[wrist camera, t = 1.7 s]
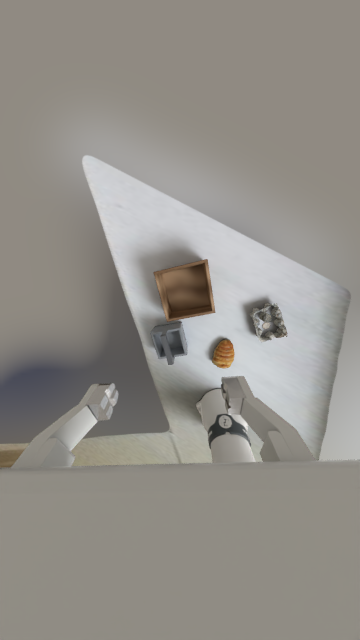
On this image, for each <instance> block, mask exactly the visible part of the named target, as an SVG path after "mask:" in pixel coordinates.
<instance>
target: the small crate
mask: <svg viewBox="0 0 360 640" xmlns="http://www.w3.org/2000/svg"><path fill="white" fill-rule="evenodd" d="M151 337H152V340H153V343H154V346H155V349H156V352H157V355H158V358H159V359H163V358H167V361H168V365H172V364H174V359H175V357H177V356H183V355H187V342H186V338H185V334H184V330H183V325H182V322H178V323H173V324H167V325H162V326H156V327H154V329H153V330H152V332H151Z"/></svg>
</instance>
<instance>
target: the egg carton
mask: <svg viewBox="0 0 360 640" xmlns="http://www.w3.org/2000/svg"><path fill="white" fill-rule="evenodd" d="M270 305H271V306H274V308H273V309H272V310H271V314H272V315H273V316H275V317H276V319H275V320H274V324H275V325H276V326H278V327H279V328H278V329H277V330H276V333H272V332H267V333H266V334H265V336H264V337H261V336H260V335H261V334H262V330H261V329H260V328H258V325H259V322H260V321H259V320H258V319H256V316H255V314H256V313H258V312H260V311H261V312H262V313H261V314H260V315H259V318H260V319H261V320H263V321H264V322H265V323H264V324H263V325H262V327H263V329H268V328H269V327H270V323H268V322H271V321H272V318H271V315H269V314H267V313H265V312H267V310H268V309H269V307H271V306H270ZM250 316H251V317H252V318H253V321H254V323H253V326H254V327H255V328H256V335H257V336H258V338H259V340H260V341H261V342H265V341H267V340H272V339H271V338H275V337H276V338H281V337H284V336H286V337H287V331H286V327H285V326H284V321H283V318H282V313H281V311H280V309H279V307H278V306H277V303H276V304H269V303H266V304H264V308H263V309H261V310H259V309H258V308H253V311H252V313H250Z"/></svg>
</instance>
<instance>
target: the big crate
mask: <svg viewBox="0 0 360 640" xmlns="http://www.w3.org/2000/svg"><path fill="white" fill-rule="evenodd" d="M154 276H155V279H156V283H157V287H158V290H159V294H160V298H161V302H162V305H163V309H164V313H165V316H166V320H167V322H168V321H173V320H179V319H184V318H189V317H195V316H200V315H205V314H211V313H215V307H214V301H213V294H212V287H211V280H210V274H209V267H208V260H207V259H205V260H201V261H197V262H193V263H189V264H185V265H181V266H177V267H173V268H169V269H165V270H161V271H157V272H154Z"/></svg>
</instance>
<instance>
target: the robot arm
mask: <svg viewBox="0 0 360 640" xmlns="http://www.w3.org/2000/svg"><path fill="white" fill-rule="evenodd" d="M221 381H222V384H221V389H215V390H212V391H209V392H208V393H206V394H205V395H204V396H203V398H202V400H201V401H199V402H198V403H196V407H197V409H198V411H199V413H200V415H201V417H202V424H203V426H204V428H205V430H206V431H207V432H208V442H209V447H210V449H211V453H212V463H189V464H146V465H103V466H72V464H73V462H74V459H75V455H74V454H73V453H72V452H71V450H72V449H73V448H74V447H75V446H76V445H77V443H78V442H79V441H80V440H81V439H82V438H83V437H84V436H85V435H86V433H87V432H88V431H89V430H90V429H91V428H92V427H93V426H94V425H95V424H96V422H97V421H98V420H109V419H110V417H111V414H112V412H113V406H114V405H115V404H116V402H117V400H118V391H117V390H116V389H115V385H114V384H113V383H110V384H93V385H91V387H90V388H89V390H88V391H87V393H86V394H85V396H84V397H83V398H82V400H81V402H80V403H79V405H78V406H75V407H74V408H72V409H71V410H70V411H69V412H67V413H66V414H65V415H63V416H62V417H61V418H59V419H58V420H57V421H56V422H54V423H53V424H52V425H50V426H49V427H48V428H47V429H45V430H44V431H43V432H41V433H40V434H39V435H38V436H36V437H35V438H34V439H33V440H32V441H31V443H30V444H29V445H28V447H27V448H26V449H25V450H24V452H23V453H22V454H21V456H20V457H19V458H18V459H17V461H16V462H15V463H14V464H13V466H12V467H11V468H0V640H360V460H319V461H316V460H315V458H314V457H313V455H312V453H311V452H310V450H309V449H308V447H307V446H306V444H305V442H304V441H303V439H302V438H301V436H300V435H299V433H298V431H297V430H296V429H295V428H294V427H293V426H291V425H290V424H289V423H288V422H286V421H285V420H284V419H283V418H281V417H280V416H279V415H278V414H277V413H275V412H274V411H273V410H272V409H270V408H269V407H268V406H267V405H265V404H264V403H263V402H262V401H260V400H259V399H258V398H255V397H254V395H253V393H252V391H251V389H250V387H249V385H248V383H247V381H246V379H245V377H244V376H232V377H222V380H221ZM247 425H249V426H250V427H251V428H252V429H253V431H254V432H255V433H256V434H257V435H258V436H259V438H260V439H261V440H262V441H263V442H264V444H263V446H262V449H261V451H260V455H261V458H262V460H263V462H256V461H255V459H254V456H253V453H252V450H251V443H250V439H249V435H248V434H247V430H248V427H247Z"/></svg>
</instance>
